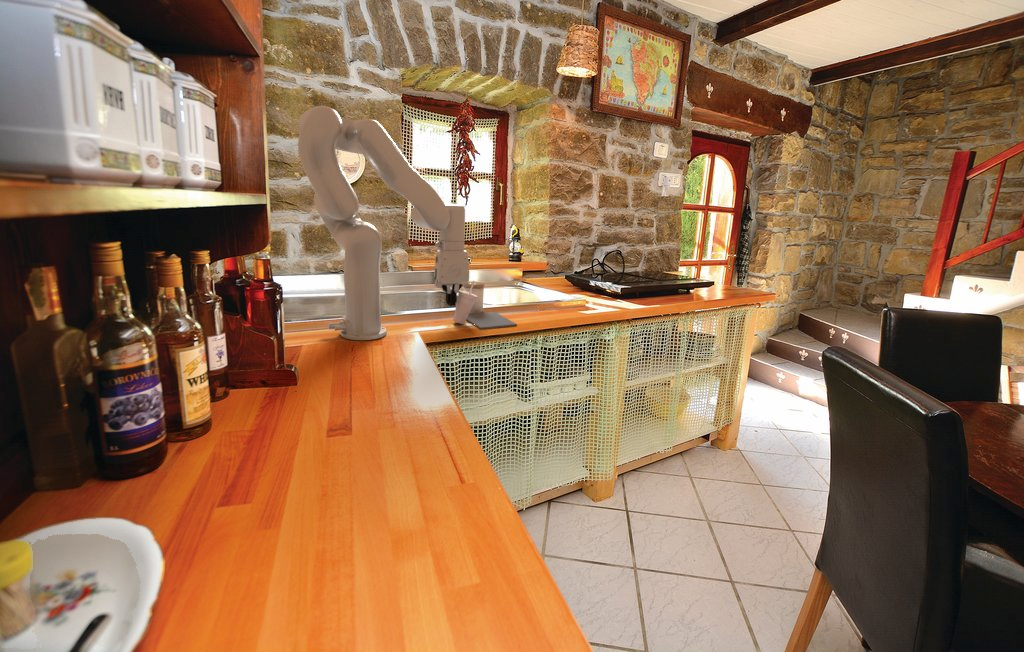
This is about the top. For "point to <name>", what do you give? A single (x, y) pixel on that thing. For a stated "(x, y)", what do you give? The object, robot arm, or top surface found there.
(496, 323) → the mat
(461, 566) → the top surface
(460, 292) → the smoothie
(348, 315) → the robot arm
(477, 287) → the canister
